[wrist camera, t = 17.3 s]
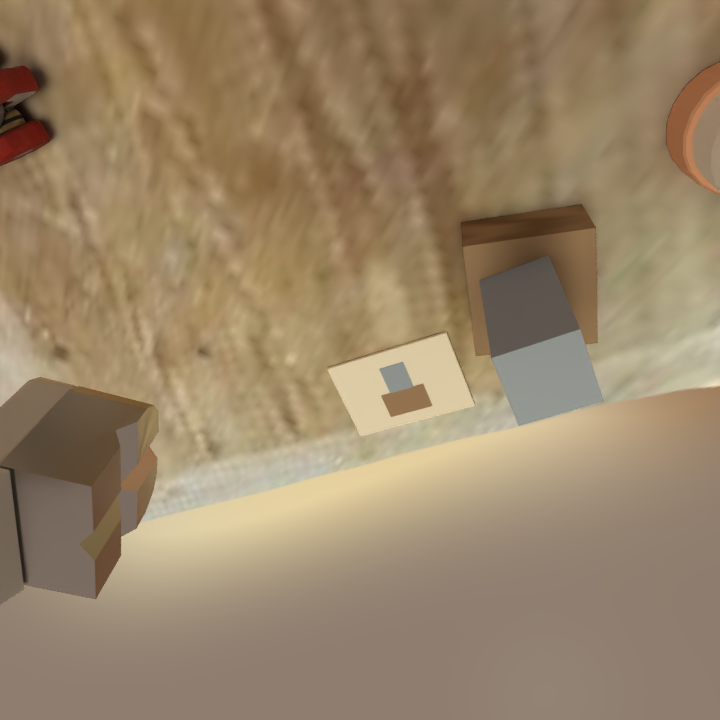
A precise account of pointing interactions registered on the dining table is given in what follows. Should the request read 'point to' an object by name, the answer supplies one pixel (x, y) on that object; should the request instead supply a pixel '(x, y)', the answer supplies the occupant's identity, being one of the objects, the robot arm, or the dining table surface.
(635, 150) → the dining table surface
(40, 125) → the toy fire truck
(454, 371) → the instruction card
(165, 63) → the dining table surface
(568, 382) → the gray brick
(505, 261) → the walnut block
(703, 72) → the pepper shaker
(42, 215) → the dining table surface
